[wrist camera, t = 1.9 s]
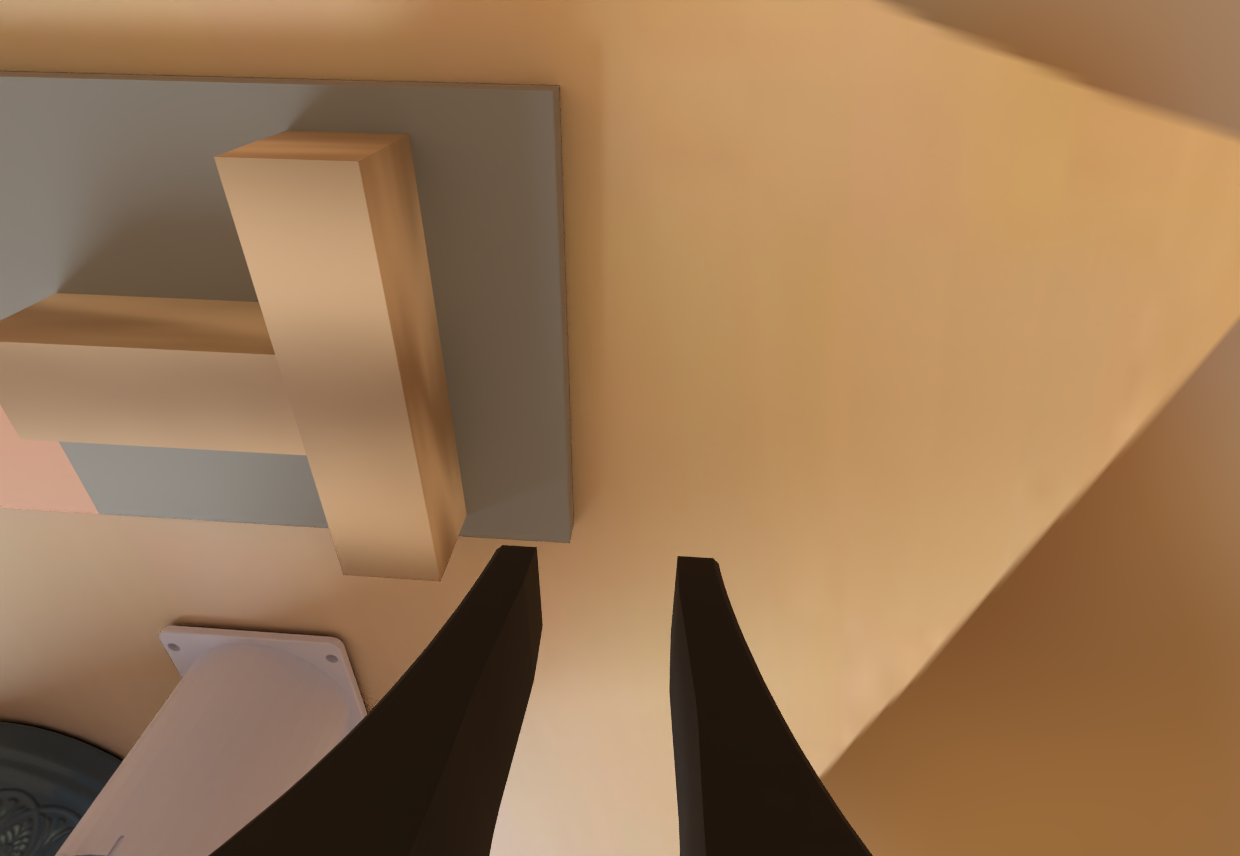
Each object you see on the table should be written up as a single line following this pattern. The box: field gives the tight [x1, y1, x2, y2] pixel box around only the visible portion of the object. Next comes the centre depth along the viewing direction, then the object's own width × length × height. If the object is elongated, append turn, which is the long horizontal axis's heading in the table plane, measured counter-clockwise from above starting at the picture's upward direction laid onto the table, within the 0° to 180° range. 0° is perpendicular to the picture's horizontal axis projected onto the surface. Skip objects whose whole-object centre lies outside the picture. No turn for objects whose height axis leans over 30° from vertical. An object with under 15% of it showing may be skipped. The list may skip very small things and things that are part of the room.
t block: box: [0, 130, 467, 581], centre depth 18 cm, size 12×11×3 cm
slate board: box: [0, 71, 574, 543], centre depth 20 cm, size 14×32×1 cm, turn 90°
